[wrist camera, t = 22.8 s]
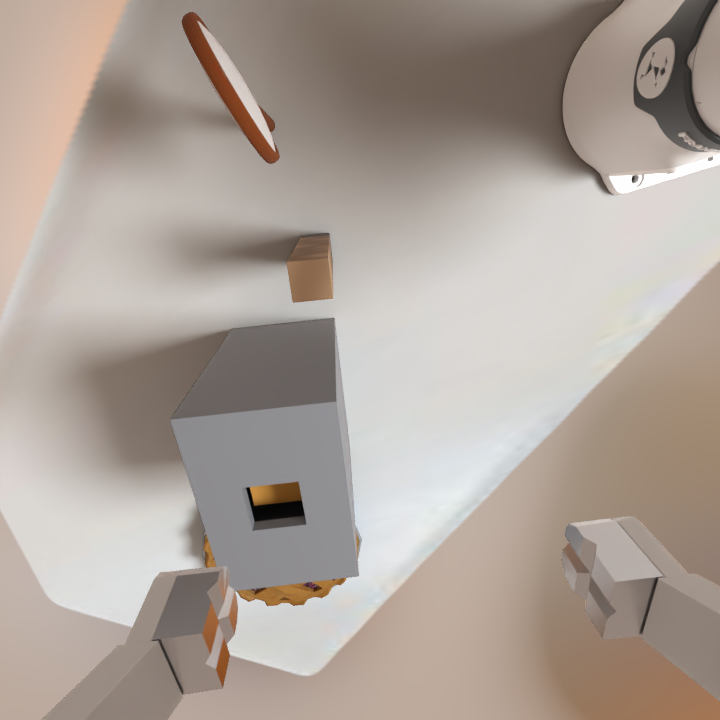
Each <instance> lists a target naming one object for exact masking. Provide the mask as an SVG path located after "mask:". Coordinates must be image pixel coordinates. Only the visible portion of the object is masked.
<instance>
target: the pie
mask: <svg viewBox="0 0 720 720" xmlns="http://www.w3.org/2000/svg"><path fill="white" fill-rule="evenodd" d="M355 529H356V543H357V557H358V555H359V551H360V546H361V541H362V539H361V537H360V535H359V532H358V530H357V527H356V525H355ZM203 558H204V560H205V565H206V568H210V567H217V566H216V563H215V560H214V556H213V553H212V550H211V547H210V544H209V541H208V538H207V535H206V531H204V533H203ZM345 580H346V578H340V579H332V580H323V581H315V582H307V583H298V584H290V585H282V586H274V587H265V588H257V589H249V590H240V591H237V592H238V593H239V595H240V597H241V598H243V599H245V600H247V601H249V602H250V601H252V600H255V599H259V600H262V601H265V603H266V605H267V606H273V605H278V604H280V603H290V604H292V605H293V606H295V605H304V604H305V602H306V601H307V599H309V598H313V597H320V598H323V597H324V596H326V595H328V594H329V592H330V590H331V588H332V587H334V586H335V585H341V584H342V583H344V582H345Z"/></svg>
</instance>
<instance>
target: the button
mask: <svg viewBox="0 0 720 720" xmlns="http://www.w3.org/2000/svg"><path fill="white" fill-rule="evenodd" d="M250 490H251V494H252V498H253V502H254V506H257V505H266V504H274V503H283V502H292V501H300V500H302V497H301V492H300V486H299V482H290V483H281V484H273V485H264V486H255V487H250Z"/></svg>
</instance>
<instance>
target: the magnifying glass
mask: <svg viewBox="0 0 720 720" xmlns="http://www.w3.org/2000/svg"><path fill="white" fill-rule="evenodd" d="M182 25H183V28H184V31H185V33H186V36H187V38H188V40H189V42H190V44H191V46H192V48H193V50H194V52H195V54H196V55H197V57H198V59H199V61H200V63H201V65H202V67H203V69H204V71H205V73H206V75H207V77H208V79H209V81H210V82H211V84H212V86H213V88H214V89H215V91H216V93H217V95H218V96H219V98H220V99H221V101H222V103H223V104H224V106H225V107H226V109H227V111H228V112H229V114H230V115H231V117H232V118H233V120H234V121H235V122H236V124H237V125H238V127H239V128H240V129H241V131H242V132H243V133H244V135H245V136H246V137H247V138H248V140H249V141H250V143H251V144H252V145H253V147H254V148H255V149H256V151H257V152H258V153H259V154H260V156H261V157H262V158H263V159H264V160H265V161H266V162H267V163H269V164H272V163H275V162H276V161H277V160H278V159H279V152H278V149H277V147H276V145H275V143H274V141H273V139H272V136H271V133H270V132H272V131H273V130H274V128H275V123H274V121H273V120H272V119H271V118H270V117H269V116H268V114H267V113H266V112H265V111H264V110H263V109H262V108H261V107H260V106H259V105H258V104H257V103H256V101H255V99H254V97H253V95H252V93H251V92H250V90H249V88H248V86H247V85H246V83H245V81H244V80H243V78H242V76H241V75H240V73H239V72H238V70H237V68H236V67H235V65H234V64H233V62H232V61H231V59H230V58H229V57H228V55H227V54H226V52H225V51H224V49H223V48H222V47H221V45H220V44H219V43H218V42H217V40H216V39H215V38H214V37H213V36H212V34H211V33H210V31H209V30H208V28H207V27H206V26H205V24H204V23H203V21H202V20H201V19H200V17H199V16H198V15H197V14H196V13H194V12H189V13H187V14H186V15H185V16H184V17H183V19H182Z"/></svg>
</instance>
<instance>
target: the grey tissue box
mask: <svg viewBox="0 0 720 720" xmlns="http://www.w3.org/2000/svg"><path fill="white" fill-rule="evenodd" d="M170 422H171V425H172V428H173V432H174V435H175V438H176V441H177V444H178V447H179V450H180V453H181V457H182V460H183V463H184V466H185V469H186V472H187V475H188V478H189V482H190V485H191V488H192V491H193V494H194V497H195V500H196V503H197V506H198V510H199V513H200V516H201V519H202V522H203V525H204V528H205V531H206V535H207V538H208V541H209V544H210V547H211V550H212V553H213V556H214V560H215V563H216V566H217V567H221V566H226V567H227V568H228V571H229V574H230V580H229V584H228V586H230V587H231V588H233V589H234V590H235V591H240V590H249V589H257V588H265V587H274V586H282V585H290V584H298V583H307V582H315V581H323V580H332V579H340V578H348V577H357V576H359V572H358V557H357V543H356V529H355V515H354V501H353V487H352V473H351V458H350V445H349V436H348V428H347V420H346V411H345V403H344V395H343V386H342V378H341V369H340V361H339V353H338V344H337V336H336V327H335V319H334V318H331V319H321V320H312V321H302V322H293V323H283V324H274V325H264V326H255V327H245V328H236V329H231V331H230V332H229V334H228V335H227V337H226V338H225V339H224V341H223V342H222V344H221V345H220V347H219V348H218V350H217V351H216V353H215V354H214V356H213V357H212V359H211V360H210V361H209V363H208V364H207V366H206V367H205V369H204V370H203V372H202V373H201V375H200V376H199V378H198V379H197V381H196V382H195V383H194V385H193V386H192V388H191V389H190V391H189V392H188V394H187V395H186V397H185V398H184V400H183V401H182V403H181V404H180V406H179V407H178V408H177V410H176V411H175V413H174V414H173V416H172V417H171V419H170ZM290 482H299V486H300V492H301V497H302V500H300V501H292V502H283V503H274V504H266V505H257V506H254V502H253V498H252V494H251V490H250V487H255V486H264V485H273V484H281V483H290Z"/></svg>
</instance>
